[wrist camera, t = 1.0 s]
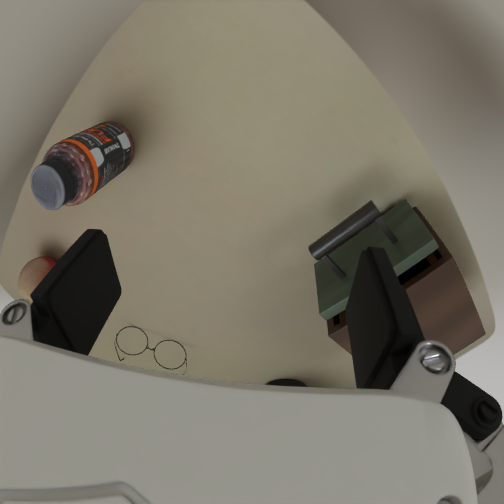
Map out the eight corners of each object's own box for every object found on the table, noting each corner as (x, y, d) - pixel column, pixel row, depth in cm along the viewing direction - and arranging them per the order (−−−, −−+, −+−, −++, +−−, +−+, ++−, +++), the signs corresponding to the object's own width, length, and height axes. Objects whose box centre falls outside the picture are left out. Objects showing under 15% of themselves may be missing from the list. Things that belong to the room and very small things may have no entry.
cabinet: (320, 273, 36) (328, 336, 28) (415, 206, 29) (452, 257, 21) (379, 332, 41) (391, 387, 33) (458, 282, 34) (485, 334, 26)
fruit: (30, 257, 39) (2, 288, 33) (52, 239, 37) (21, 273, 30) (59, 294, 43) (35, 327, 36) (84, 281, 40) (59, 318, 34)
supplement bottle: (135, 119, 27) (70, 152, 18) (136, 173, 30) (80, 225, 21) (88, 120, 27) (17, 154, 18) (91, 170, 30) (29, 218, 21)
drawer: (285, 236, 32) (285, 285, 26) (380, 163, 27) (408, 196, 20) (373, 324, 38) (383, 370, 32) (450, 275, 33) (473, 318, 26)
